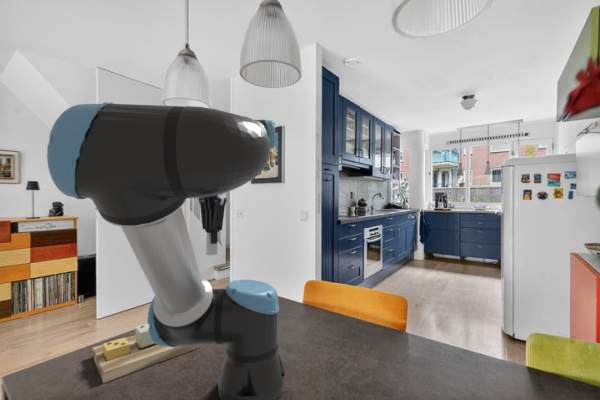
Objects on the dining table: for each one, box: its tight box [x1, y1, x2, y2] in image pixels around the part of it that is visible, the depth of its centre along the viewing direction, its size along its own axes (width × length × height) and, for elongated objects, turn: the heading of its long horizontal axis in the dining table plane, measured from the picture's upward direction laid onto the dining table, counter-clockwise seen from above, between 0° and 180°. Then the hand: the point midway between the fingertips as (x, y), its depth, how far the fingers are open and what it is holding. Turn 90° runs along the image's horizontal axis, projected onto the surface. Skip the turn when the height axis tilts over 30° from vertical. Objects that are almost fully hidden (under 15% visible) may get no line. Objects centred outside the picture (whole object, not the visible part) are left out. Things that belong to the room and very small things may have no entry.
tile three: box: [102, 337, 130, 362], centre depth 74 cm, size 5×5×4 cm
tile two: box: [134, 322, 155, 348], centre depth 79 cm, size 5×5×4 cm
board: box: [92, 334, 201, 384], centre depth 79 cm, size 15×23×2 cm, turn 134°
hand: (211, 254), depth 84 cm, fingers closed
